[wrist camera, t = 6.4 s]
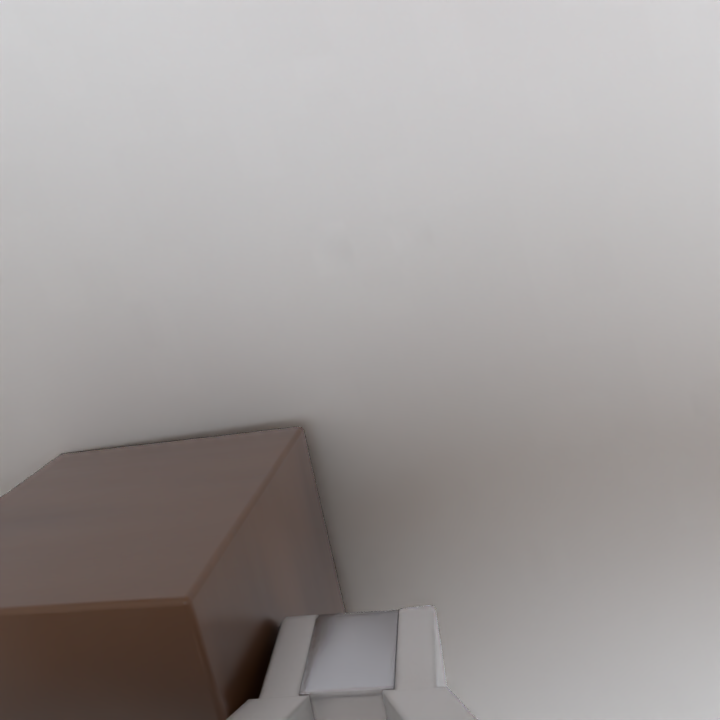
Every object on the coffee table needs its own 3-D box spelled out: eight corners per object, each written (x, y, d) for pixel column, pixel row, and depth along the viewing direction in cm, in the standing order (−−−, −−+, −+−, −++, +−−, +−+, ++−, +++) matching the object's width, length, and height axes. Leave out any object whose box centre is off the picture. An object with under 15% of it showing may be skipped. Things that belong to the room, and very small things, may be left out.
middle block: (357, 658, 13) (287, 934, 9) (130, 666, 15) (-40, 914, 10) (303, 424, 12) (187, 599, 7) (60, 452, 13) (-176, 620, 9)
